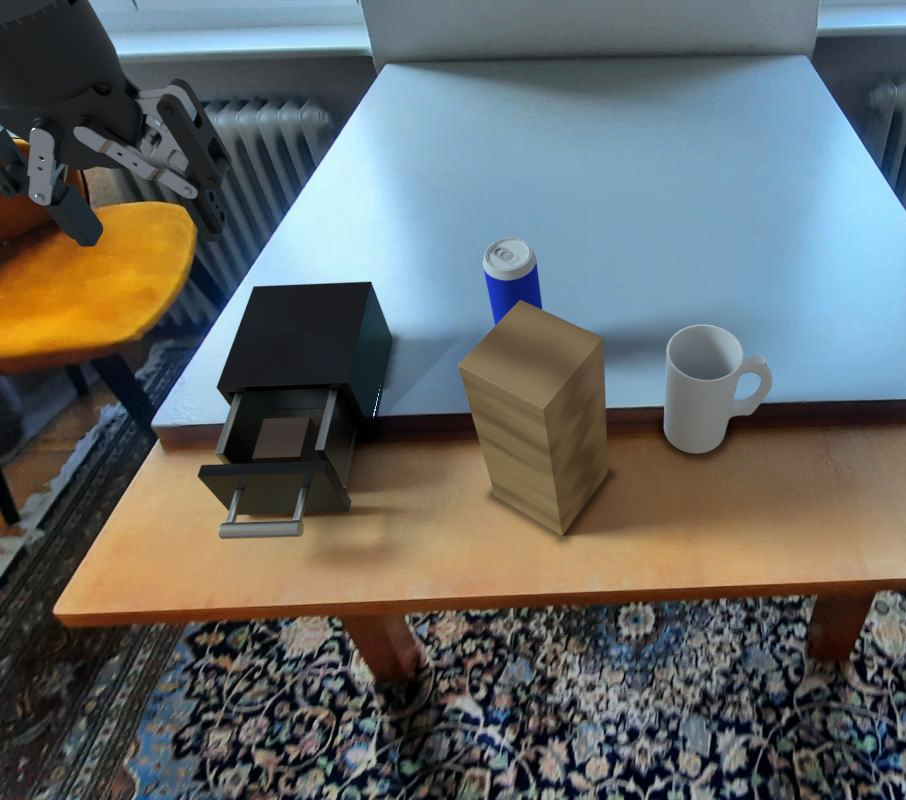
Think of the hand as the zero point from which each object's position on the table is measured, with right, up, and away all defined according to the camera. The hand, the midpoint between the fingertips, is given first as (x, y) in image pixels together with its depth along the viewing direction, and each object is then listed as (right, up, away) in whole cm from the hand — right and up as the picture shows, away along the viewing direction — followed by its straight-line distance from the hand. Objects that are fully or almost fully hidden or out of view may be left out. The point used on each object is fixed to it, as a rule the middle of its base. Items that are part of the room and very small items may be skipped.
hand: (155, 236), depth 50 cm
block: (+1, -17, +22) cm, 28 cm away
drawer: (+1, -19, +22) cm, 29 cm away
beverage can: (+23, -6, +32) cm, 40 cm away
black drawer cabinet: (+1, -10, +30) cm, 32 cm away
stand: (+26, -19, +21) cm, 39 cm away
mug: (+42, -14, +25) cm, 51 cm away
